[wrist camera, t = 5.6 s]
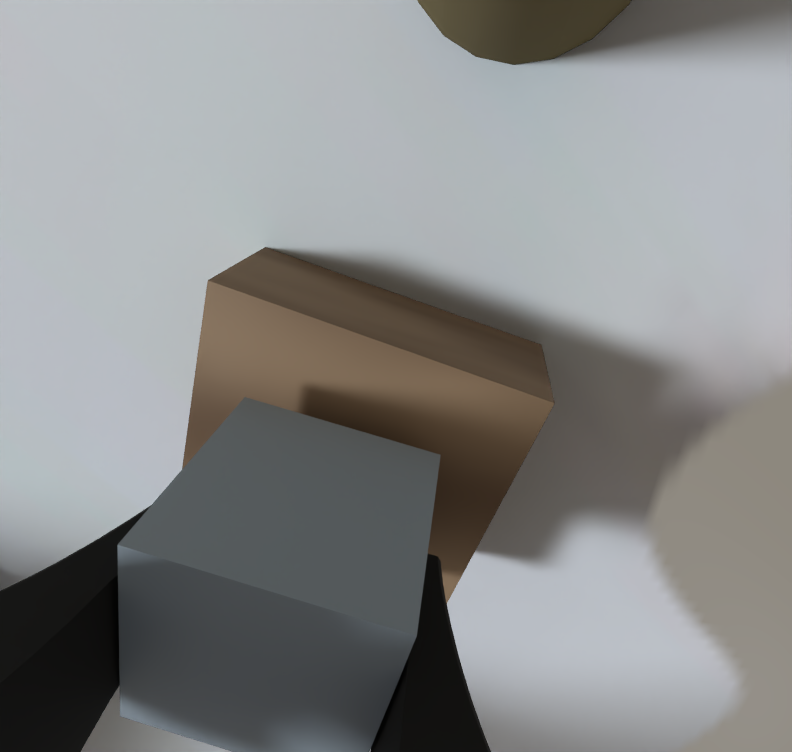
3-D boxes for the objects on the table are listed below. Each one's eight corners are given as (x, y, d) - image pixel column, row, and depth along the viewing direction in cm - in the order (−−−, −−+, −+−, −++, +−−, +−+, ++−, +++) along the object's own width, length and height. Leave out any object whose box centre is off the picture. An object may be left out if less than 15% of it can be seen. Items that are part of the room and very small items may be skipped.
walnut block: (443, 539, 20) (434, 627, 17) (227, 462, 20) (173, 534, 17) (540, 341, 16) (554, 403, 13) (269, 244, 16) (207, 280, 13)
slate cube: (392, 591, 15) (353, 789, 11) (227, 540, 15) (119, 715, 11) (440, 454, 13) (416, 635, 8) (244, 396, 13) (117, 544, 8)
